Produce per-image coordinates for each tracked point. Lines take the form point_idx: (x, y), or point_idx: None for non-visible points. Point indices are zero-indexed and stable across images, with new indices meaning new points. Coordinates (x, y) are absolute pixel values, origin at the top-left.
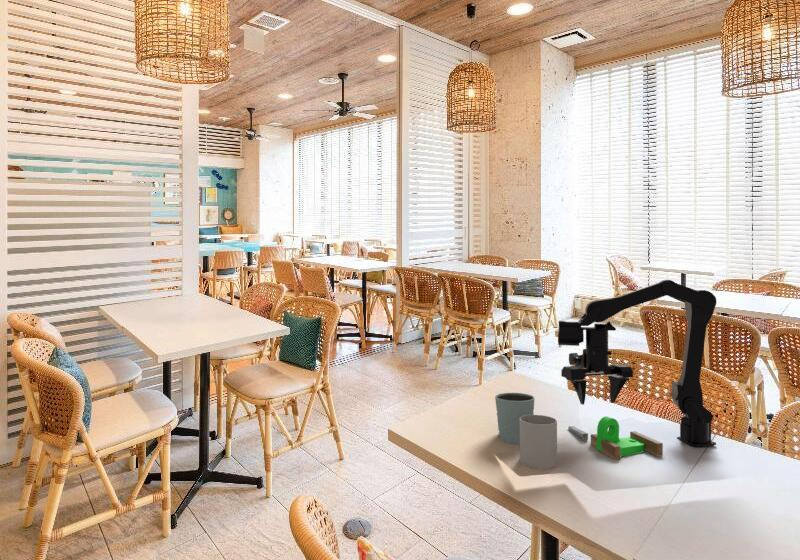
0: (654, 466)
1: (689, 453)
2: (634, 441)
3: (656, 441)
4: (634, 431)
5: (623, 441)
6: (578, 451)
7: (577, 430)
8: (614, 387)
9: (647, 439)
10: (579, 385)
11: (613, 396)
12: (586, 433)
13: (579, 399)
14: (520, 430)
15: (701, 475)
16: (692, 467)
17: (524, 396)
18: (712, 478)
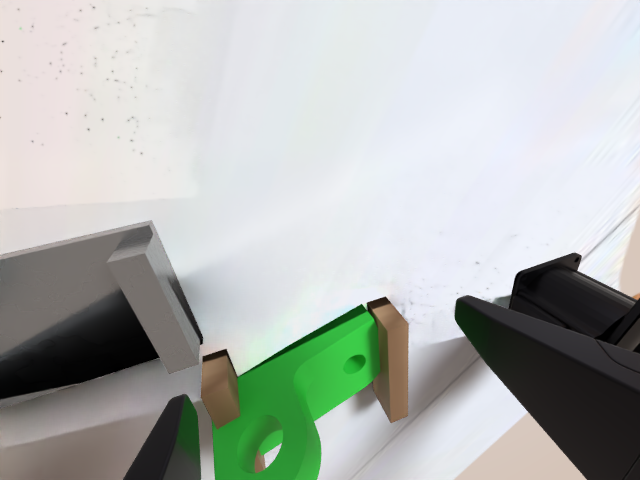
0: (323, 450)
1: (461, 355)
2: (363, 355)
3: (401, 406)
4: (403, 327)
5: (320, 379)
6: (134, 414)
7: (152, 330)
8: (588, 436)
9: (389, 395)
10: None
11: (494, 362)
12: (190, 365)
13: (149, 446)
14: None
15: (386, 460)
16: (400, 431)
17: None
18: (394, 466)
